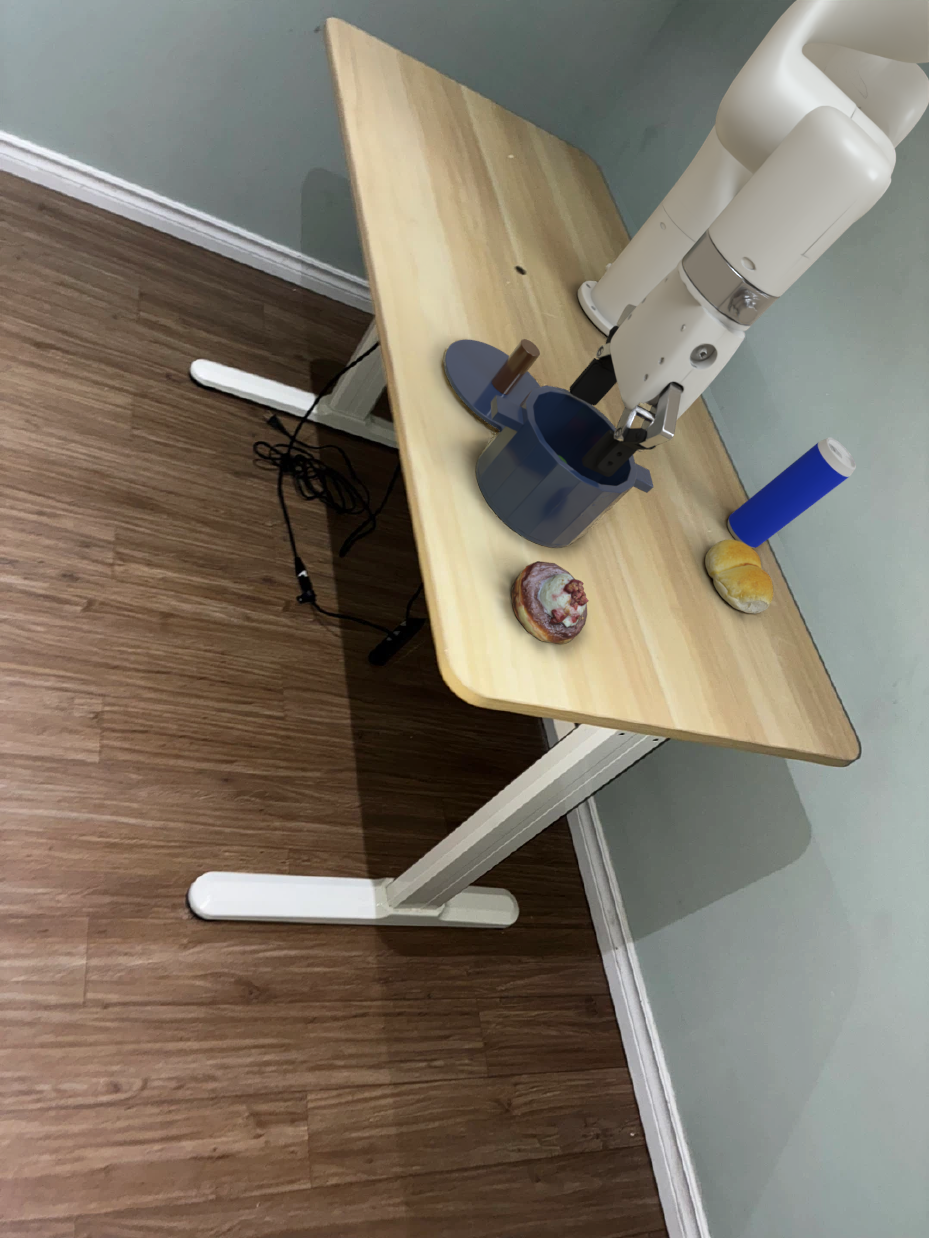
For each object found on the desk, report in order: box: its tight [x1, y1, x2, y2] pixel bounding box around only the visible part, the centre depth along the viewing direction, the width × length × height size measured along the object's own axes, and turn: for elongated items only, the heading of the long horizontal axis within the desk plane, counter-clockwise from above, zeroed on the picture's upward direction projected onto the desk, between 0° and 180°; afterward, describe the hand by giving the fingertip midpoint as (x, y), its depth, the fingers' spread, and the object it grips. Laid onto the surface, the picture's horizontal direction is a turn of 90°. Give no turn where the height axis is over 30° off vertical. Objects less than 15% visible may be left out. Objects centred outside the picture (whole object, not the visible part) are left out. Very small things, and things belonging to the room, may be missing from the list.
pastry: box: [511, 560, 590, 645], centre depth 70 cm, size 8×8×5 cm
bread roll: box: [704, 538, 774, 614], centre depth 91 cm, size 8×9×4 cm
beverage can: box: [727, 437, 857, 549], centre depth 96 cm, size 5×5×15 cm
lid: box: [443, 338, 541, 431], centre depth 85 cm, size 14×14×7 cm
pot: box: [475, 385, 654, 549], centre depth 77 cm, size 13×18×8 cm
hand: (587, 432), depth 74 cm, fingers open, 9 cm apart
